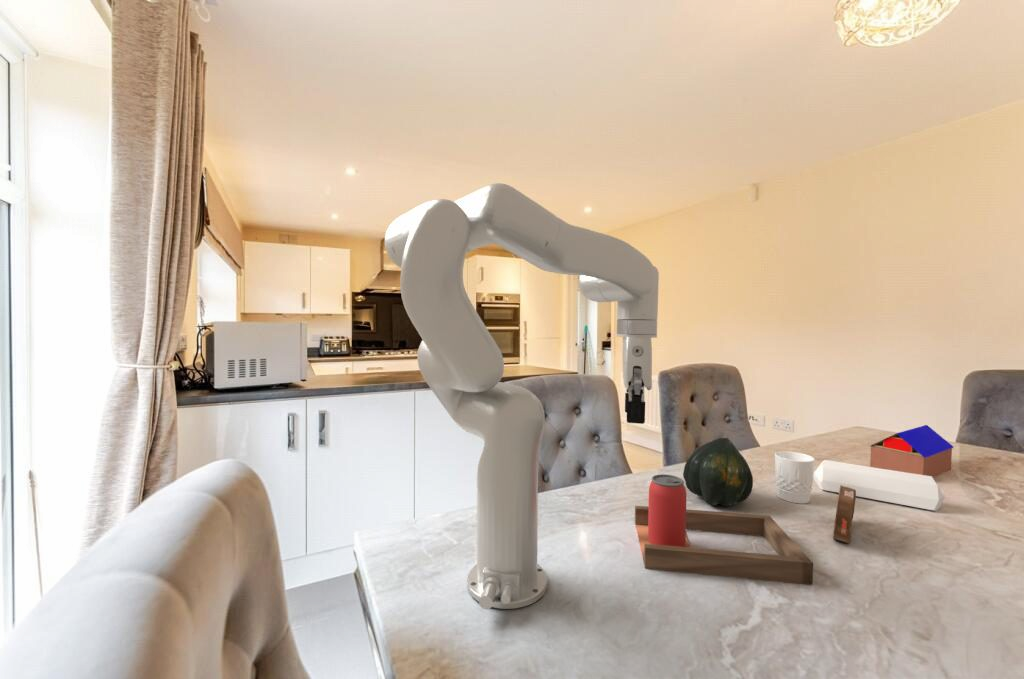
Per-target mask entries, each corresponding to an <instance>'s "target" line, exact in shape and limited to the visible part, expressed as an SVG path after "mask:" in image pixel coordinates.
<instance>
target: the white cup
mask: <svg viewBox="0 0 1024 679" xmlns="http://www.w3.org/2000/svg"><path fill="white" fill-rule="evenodd" d="M815 462H816V460H815V458H814V457H813V456H811V455H809V454H805V453H802V452H797V451H796V452H795V451H789V450H788V451H786V450H785V451H784V450H782V451H781V450H779V451H775V452H774V474H775V475H774V478H775V479H774V480H775V482H774V483H775V488H776V489H775V494H776V496H777V498H779V499H781V500H783V501H785V502H789V503H794V504H799V505H800V504H804V505H805V504H808V503H811V494H812V490H813V482H814V476H813V474H814V472H815Z"/></svg>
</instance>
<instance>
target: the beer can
mask: <svg viewBox="0 0 1024 679" xmlns="http://www.w3.org/2000/svg"><path fill="white" fill-rule="evenodd" d="M684 481H685V480H683V479H682V478H680V477H679V476H675V475H671V474H662V473H661V474H655V475H653V476H652V478H651V481H650V484H649V486H648V507H649V509H648V539H649V541H650V543H651V544H657V545H668V546H679V547H684V546H685V544H686V537H687V536H686V535H687V530H686V509H687V490H686V487H685V486H686V485H685V482H684Z"/></svg>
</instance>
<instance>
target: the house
mask: <svg viewBox="0 0 1024 679" xmlns="http://www.w3.org/2000/svg"><path fill="white" fill-rule="evenodd" d="M869 447H870V462H869V465H870V466H869V467H874V468H880V469H887V470H893V471H900V472H906V473H913V474H919V475H926V476H932V478H934V477H937V476H940V475H941V474H944V473H946V472H948V471H951V470H952V454H953V453H952V451H953V449H954V446H953V445H952V444H951V443H950V442H949V441H947V440H946V439H945V438H944V437H943V436H941V434H939V433H937V432H936V431H935V430H934V429H932V427H930V426H929V425H928V424H924V425H921V426H919V427H915V428H911V429H908V430H907V429H906V430H903V431H900V432H896V433H893V434H891V436H888V437H886V438H883V439H881V440H879V441H877V442H874V443H873V444H871V445H869Z"/></svg>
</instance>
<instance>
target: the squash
mask: <svg viewBox="0 0 1024 679" xmlns="http://www.w3.org/2000/svg"><path fill="white" fill-rule="evenodd" d="M751 470H752V469H751V468H750V465H749V464H748V462H747V460H746V459H745V457H744V456H743V455H742V453H741V452H740V451H739V450H738V448H736V446H735V445H734V443H733V442H732V440H730V439H729V438H728V437H720V438H716V439H713V440H712V441H708V442H706V443H705V444H702V445H701V446H698V448H696V449H695V450H694V451H692V453H691V454H690V455H689V457H688V458H687V460H686V461H685V464H684V468H683V473H682V475H683V476H682V477H683V479H684V481H685V486H686V488H687V489H688V490H689V492H691V493H692V494H694V495H696V496H698V497H700V498H703V499H704V501H705V502H706V503H707V504H708V505H710V506H713V507H714V506H715V507H716V506H717V505H719V504H720V505H722V506H723V507H731V506H734V505H735V504H736V503H741V502H744V501H747V499H748V498H749V496H750V495H751V494H752V491H753V486H754V485H753V484H754V479H753V473H752V471H751Z"/></svg>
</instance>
